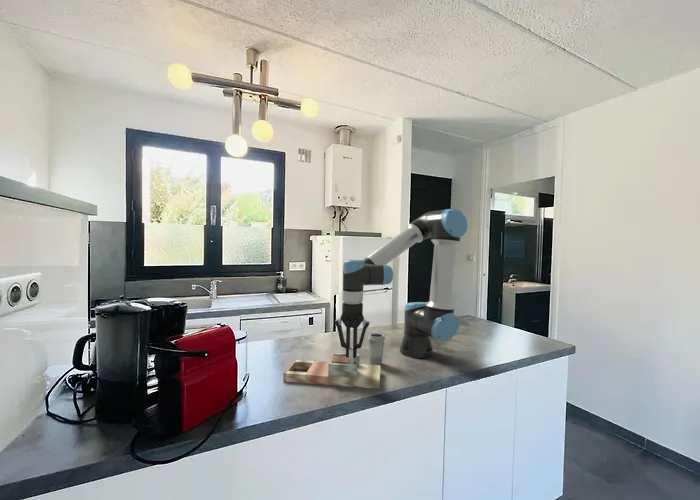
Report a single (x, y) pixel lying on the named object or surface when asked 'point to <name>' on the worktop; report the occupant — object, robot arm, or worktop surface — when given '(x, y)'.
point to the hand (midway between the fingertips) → (351, 366)
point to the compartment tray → (334, 373)
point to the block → (340, 359)
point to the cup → (376, 348)
